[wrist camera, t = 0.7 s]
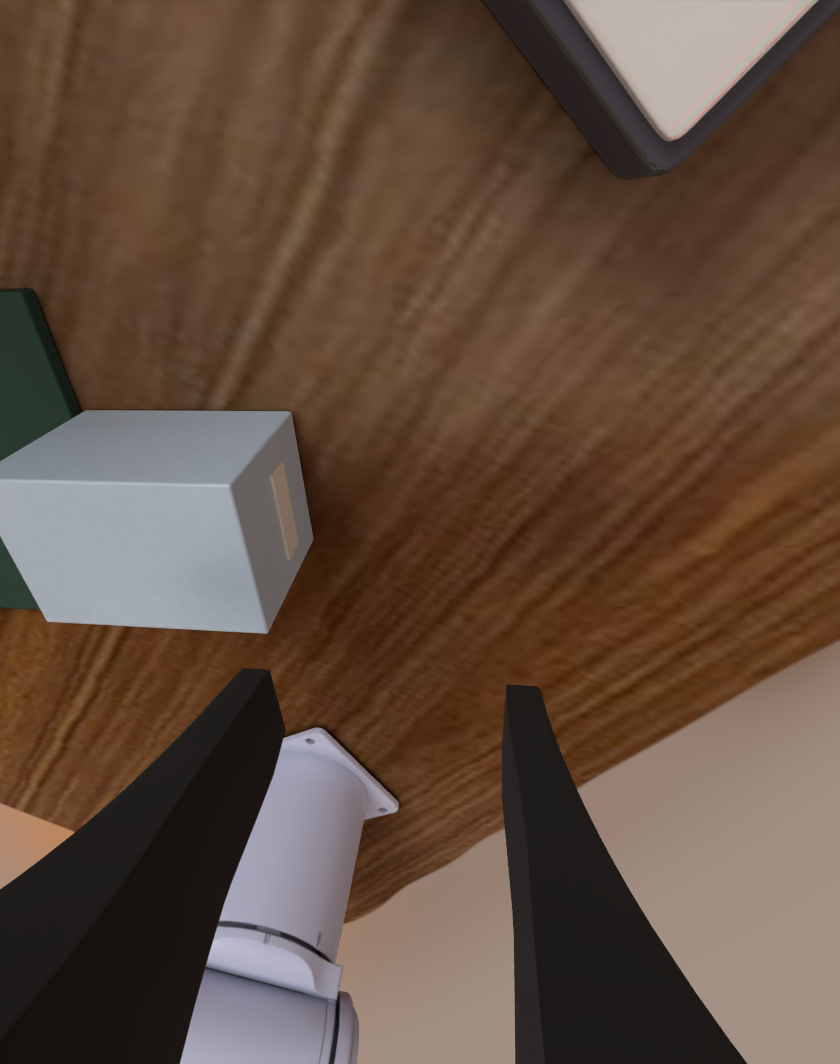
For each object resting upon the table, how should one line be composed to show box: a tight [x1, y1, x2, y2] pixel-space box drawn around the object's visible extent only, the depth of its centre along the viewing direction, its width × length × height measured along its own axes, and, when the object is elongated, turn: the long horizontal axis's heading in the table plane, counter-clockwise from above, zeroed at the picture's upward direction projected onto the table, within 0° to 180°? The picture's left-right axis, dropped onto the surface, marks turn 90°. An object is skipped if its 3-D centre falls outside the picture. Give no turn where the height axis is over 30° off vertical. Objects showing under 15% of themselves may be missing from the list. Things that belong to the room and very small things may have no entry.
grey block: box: [0, 410, 313, 634], centre depth 19 cm, size 8×6×6 cm
